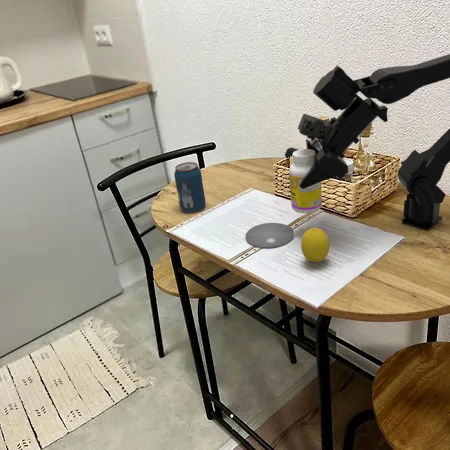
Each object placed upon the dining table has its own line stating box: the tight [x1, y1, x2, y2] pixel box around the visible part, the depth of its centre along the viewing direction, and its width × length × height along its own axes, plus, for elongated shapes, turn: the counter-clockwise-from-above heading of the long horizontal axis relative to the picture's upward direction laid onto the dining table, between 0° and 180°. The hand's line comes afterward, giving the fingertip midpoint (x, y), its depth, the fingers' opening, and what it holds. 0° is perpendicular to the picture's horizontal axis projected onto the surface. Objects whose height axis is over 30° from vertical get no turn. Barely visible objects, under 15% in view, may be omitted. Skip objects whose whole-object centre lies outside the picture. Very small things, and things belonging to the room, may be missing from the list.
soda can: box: [173, 161, 206, 214], centre depth 123 cm, size 7×7×12 cm
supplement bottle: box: [289, 148, 323, 214], centre depth 101 cm, size 7×7×13 cm
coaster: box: [245, 222, 295, 249], centre depth 107 cm, size 11×11×1 cm
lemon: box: [300, 227, 330, 264], centre depth 94 cm, size 6×6×8 cm
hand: (298, 181), depth 101 cm, fingers closed on supplement bottle, 7 cm apart
